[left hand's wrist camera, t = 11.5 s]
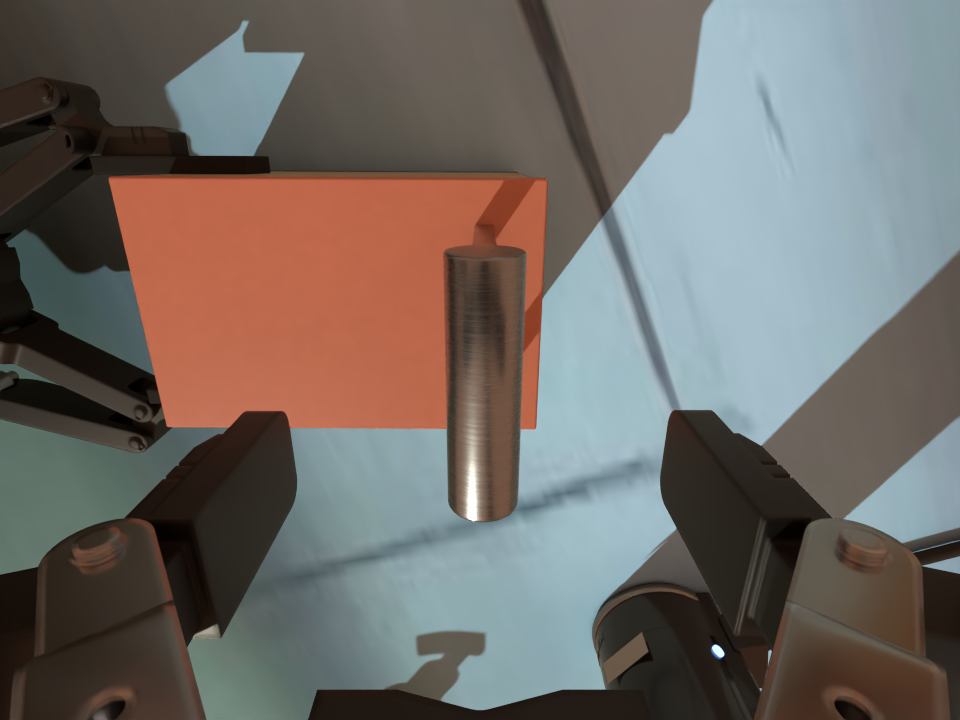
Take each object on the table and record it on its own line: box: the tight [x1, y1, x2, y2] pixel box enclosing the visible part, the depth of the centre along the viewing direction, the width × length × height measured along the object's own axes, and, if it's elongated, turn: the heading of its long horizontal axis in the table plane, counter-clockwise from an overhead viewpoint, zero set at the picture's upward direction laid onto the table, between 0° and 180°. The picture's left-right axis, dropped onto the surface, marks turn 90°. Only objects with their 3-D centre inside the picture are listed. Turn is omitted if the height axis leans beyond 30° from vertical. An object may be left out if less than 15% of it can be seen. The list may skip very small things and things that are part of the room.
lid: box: [109, 176, 548, 522], centre depth 17 cm, size 16×10×9 cm, turn 90°
